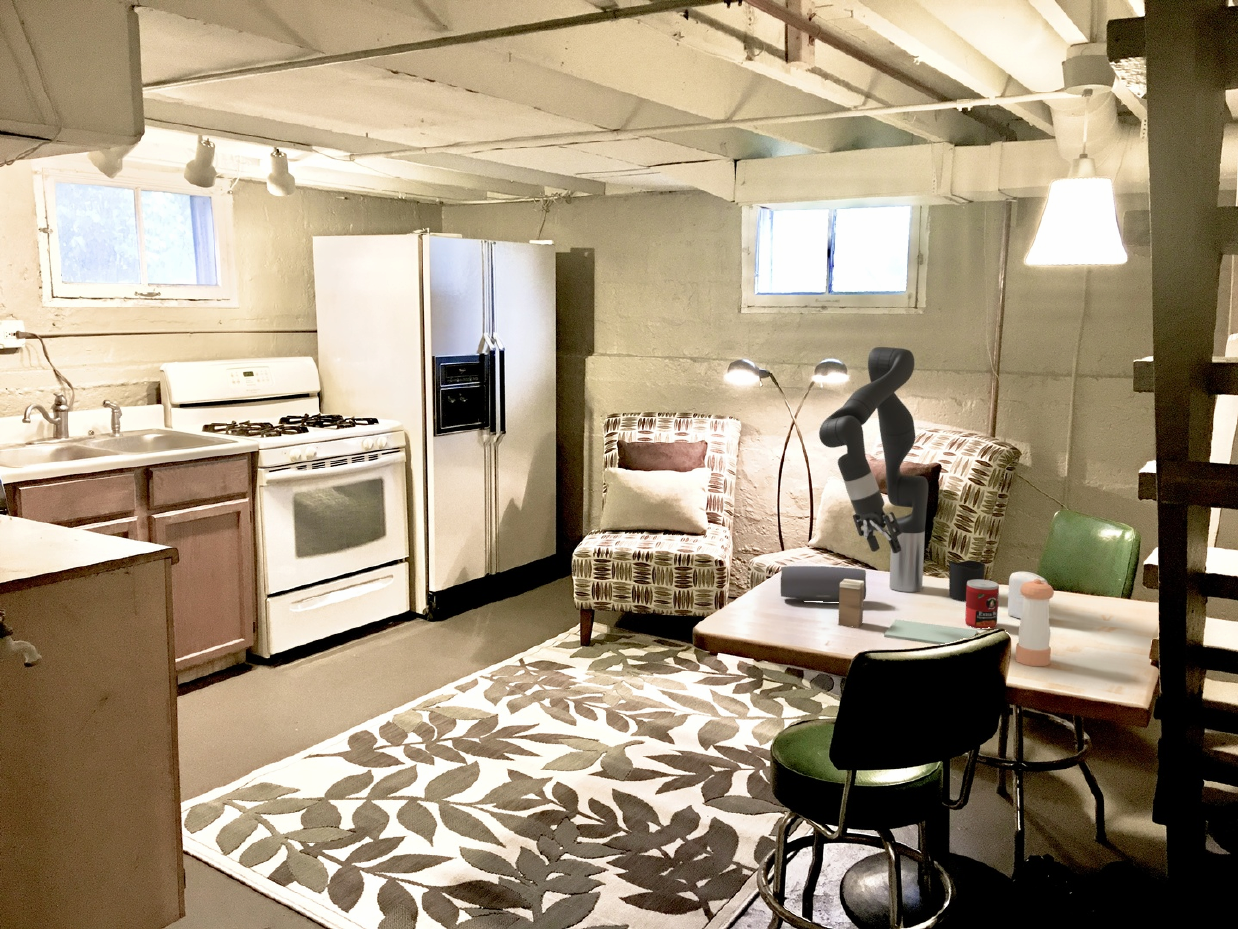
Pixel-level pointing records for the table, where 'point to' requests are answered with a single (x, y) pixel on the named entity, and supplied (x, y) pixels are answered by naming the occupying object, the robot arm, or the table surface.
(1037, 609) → the salt shaker
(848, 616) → the walnut block
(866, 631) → the table surface
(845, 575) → the bluetooth speaker
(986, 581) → the canned food
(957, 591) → the pen holder
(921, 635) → the rubber mat
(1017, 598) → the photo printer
